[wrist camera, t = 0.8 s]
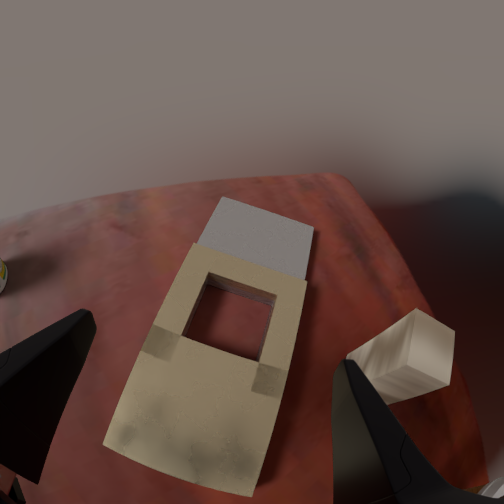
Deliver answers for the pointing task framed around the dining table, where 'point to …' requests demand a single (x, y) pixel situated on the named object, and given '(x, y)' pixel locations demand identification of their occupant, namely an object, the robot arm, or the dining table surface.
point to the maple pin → (408, 357)
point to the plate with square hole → (217, 356)
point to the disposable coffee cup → (490, 488)
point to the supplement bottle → (2, 275)
